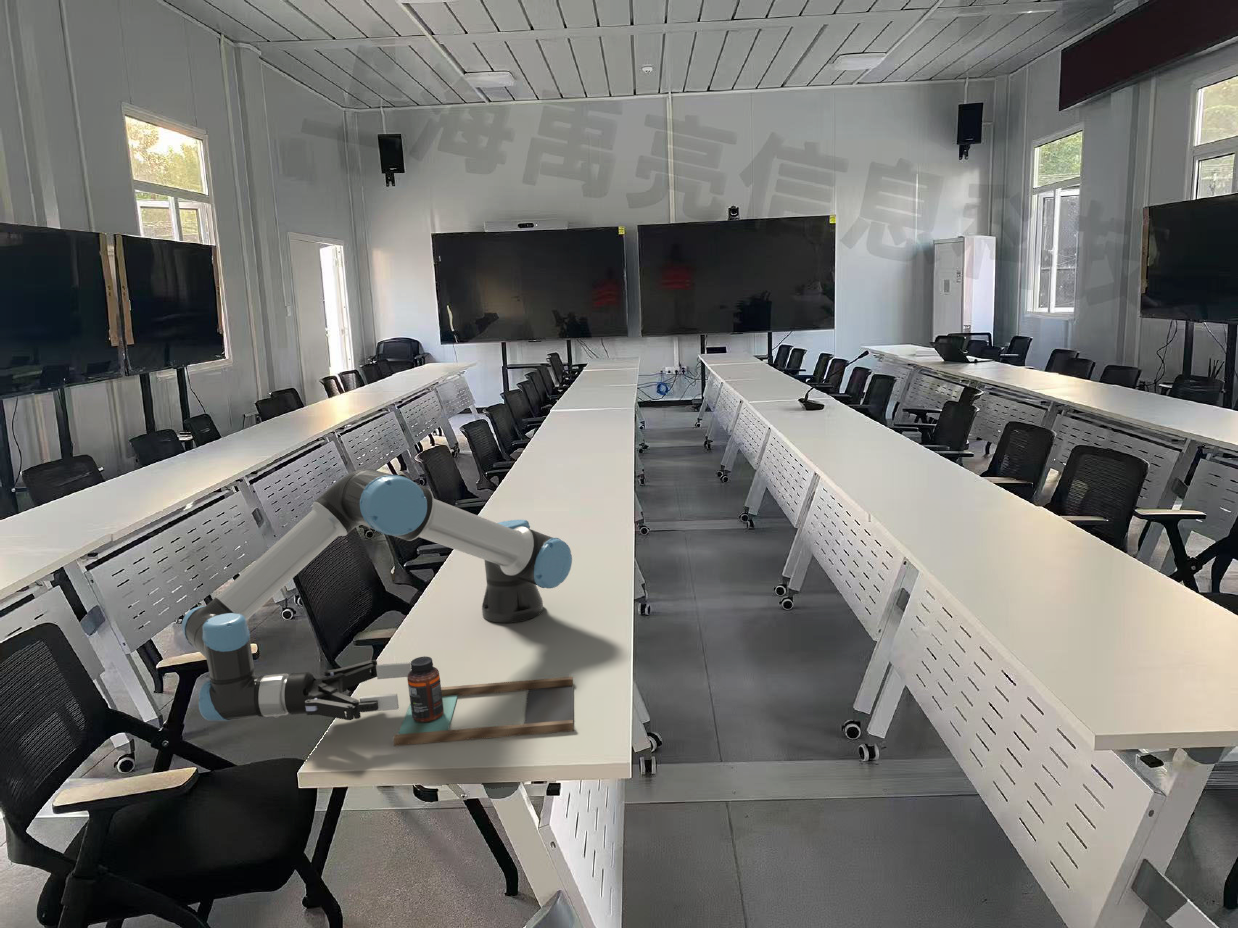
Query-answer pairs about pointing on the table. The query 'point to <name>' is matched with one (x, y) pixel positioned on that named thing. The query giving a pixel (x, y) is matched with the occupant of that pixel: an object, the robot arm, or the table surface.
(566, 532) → the table surface
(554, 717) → the channel track
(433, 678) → the supplement bottle
